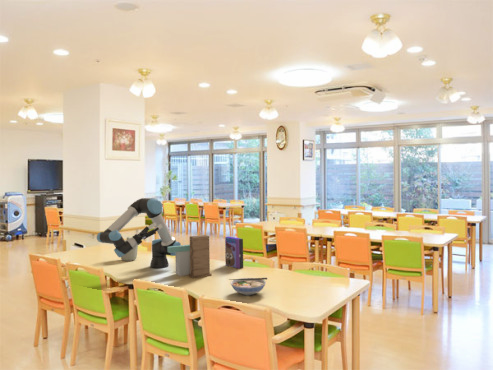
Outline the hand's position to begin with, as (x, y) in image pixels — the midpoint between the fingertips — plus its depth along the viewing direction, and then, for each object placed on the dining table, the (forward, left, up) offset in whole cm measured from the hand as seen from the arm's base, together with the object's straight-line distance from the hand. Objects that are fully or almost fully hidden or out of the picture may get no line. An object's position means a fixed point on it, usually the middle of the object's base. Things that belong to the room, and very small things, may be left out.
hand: (158, 224), depth 304 cm
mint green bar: (+2, +18, -22) cm, 28 cm away
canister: (-76, -4, -40) cm, 86 cm away
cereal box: (+1, +63, -40) cm, 75 cm away
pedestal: (+14, +27, -40) cm, 50 cm away
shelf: (+2, +23, -40) cm, 46 cm away
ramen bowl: (+74, +33, -40) cm, 91 cm away
